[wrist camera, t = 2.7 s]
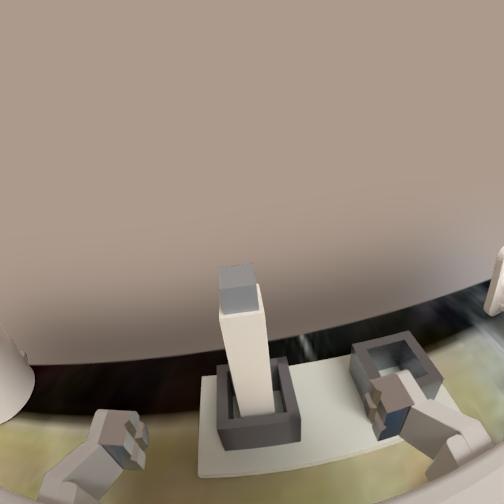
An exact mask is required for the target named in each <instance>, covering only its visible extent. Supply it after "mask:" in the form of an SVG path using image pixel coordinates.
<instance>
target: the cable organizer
mask: <svg viewBox="0 0 504 504" xmlns="http://www.w3.org/2000/svg"><path fill="white" fill-rule="evenodd" d="M484 311H485V312H486V313H487V314H488V315H490V316H491V317H493V316H495V315H497V314H499V313H501V312H502V311H504V246H503V247H502V248H501V250H500V251H499V253H498V255H497V257H496V262H495V266H494V270H493V275H492V279H491V282H490V286H489V290H488V294H487V297H486V301H485V304H484Z"/></svg>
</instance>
